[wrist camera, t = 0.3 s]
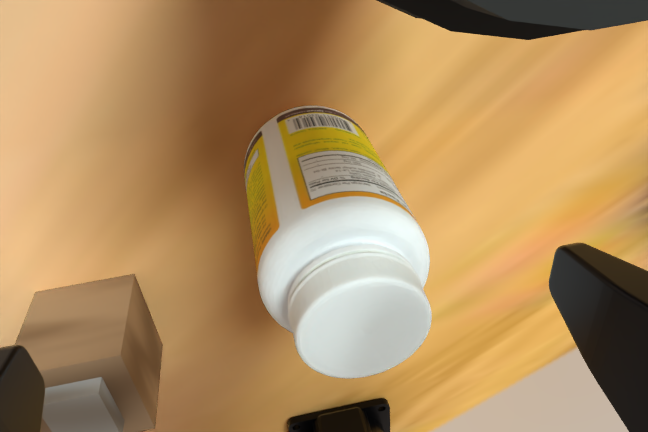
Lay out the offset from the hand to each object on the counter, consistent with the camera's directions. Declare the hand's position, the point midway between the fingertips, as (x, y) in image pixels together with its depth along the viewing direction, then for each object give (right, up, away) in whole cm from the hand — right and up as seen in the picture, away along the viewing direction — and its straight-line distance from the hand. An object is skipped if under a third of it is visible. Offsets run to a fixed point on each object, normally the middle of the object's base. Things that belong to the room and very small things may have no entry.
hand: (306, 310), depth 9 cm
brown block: (-11, -3, +17) cm, 20 cm away
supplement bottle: (0, +4, +14) cm, 15 cm away
